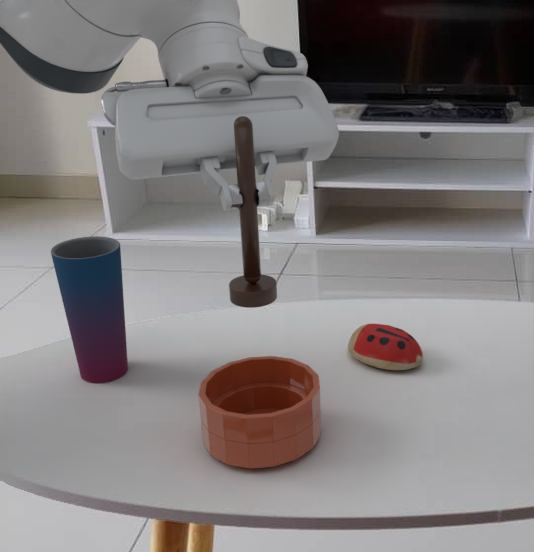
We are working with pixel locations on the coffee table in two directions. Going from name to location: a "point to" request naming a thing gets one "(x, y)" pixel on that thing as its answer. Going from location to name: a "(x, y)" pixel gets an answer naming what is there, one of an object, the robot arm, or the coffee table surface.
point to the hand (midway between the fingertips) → (250, 205)
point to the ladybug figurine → (385, 347)
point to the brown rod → (249, 227)
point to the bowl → (260, 411)
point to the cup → (93, 304)
